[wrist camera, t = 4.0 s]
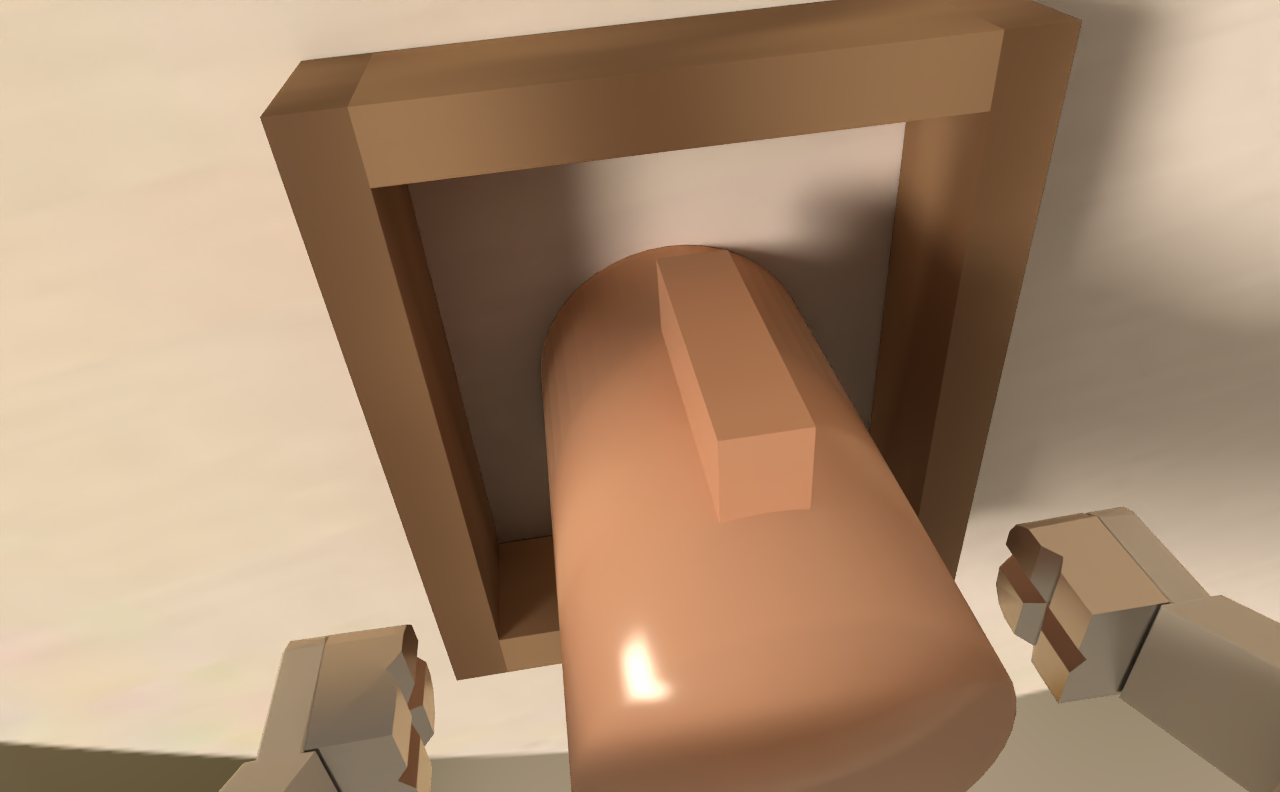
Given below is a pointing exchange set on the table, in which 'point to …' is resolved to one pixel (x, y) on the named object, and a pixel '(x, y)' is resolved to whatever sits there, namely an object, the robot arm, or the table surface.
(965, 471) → the brown wooden frame
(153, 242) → the table surface
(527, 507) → the table surface
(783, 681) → the capsule with tab
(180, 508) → the table surface
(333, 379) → the table surface
